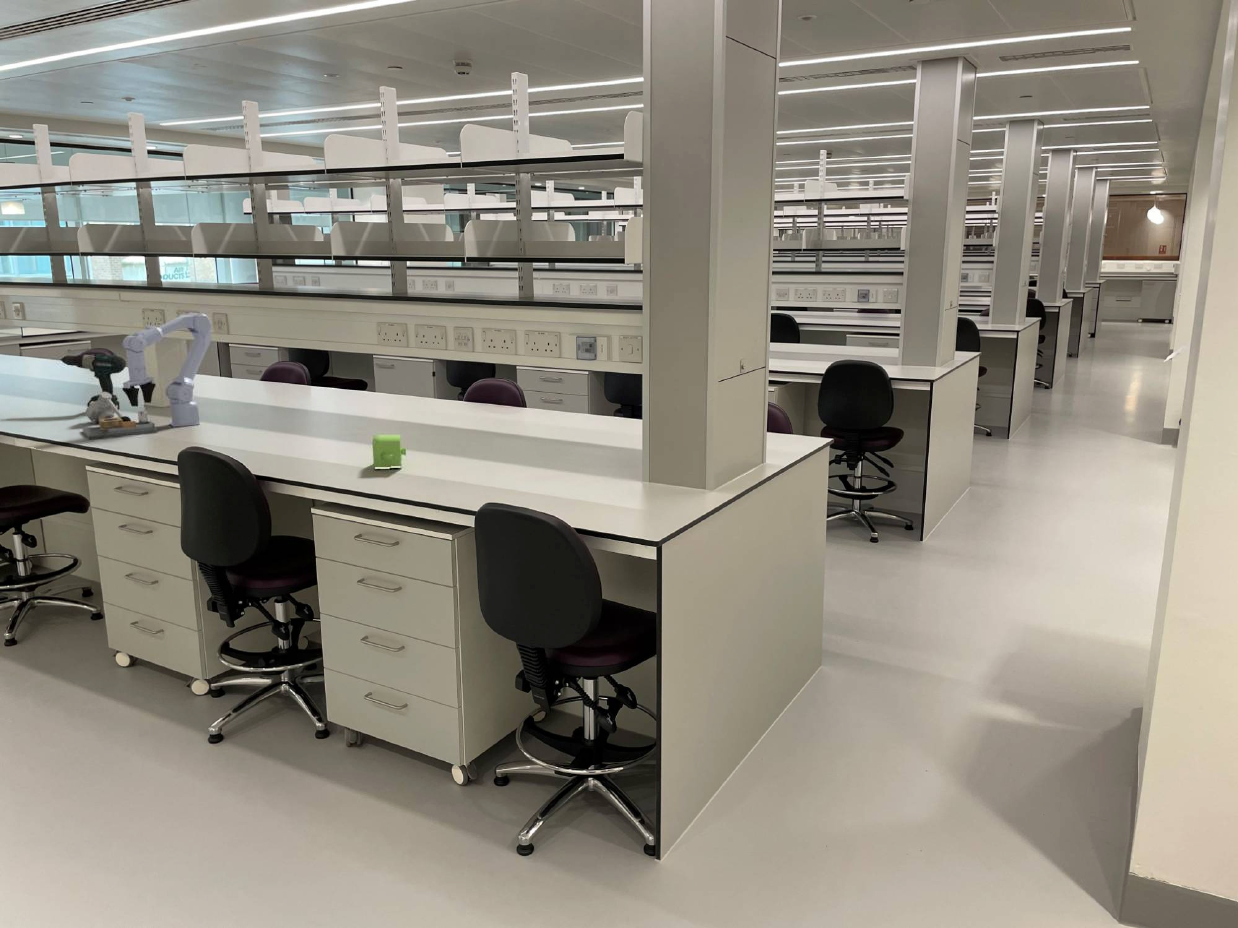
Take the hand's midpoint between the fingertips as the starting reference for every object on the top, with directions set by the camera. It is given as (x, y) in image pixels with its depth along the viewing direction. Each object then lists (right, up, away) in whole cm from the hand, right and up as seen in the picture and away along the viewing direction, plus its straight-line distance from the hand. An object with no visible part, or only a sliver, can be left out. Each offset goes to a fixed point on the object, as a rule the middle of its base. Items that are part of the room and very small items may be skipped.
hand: (141, 404), depth 327 cm
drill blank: (0, -8, +2) cm, 9 cm away
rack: (-12, -9, +1) cm, 15 cm away
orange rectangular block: (-4, -9, -1) cm, 10 cm away
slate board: (-7, -10, -1) cm, 13 cm away
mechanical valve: (-18, -7, +14) cm, 24 cm away
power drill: (-37, -1, +36) cm, 52 cm away
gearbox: (+106, -23, -46) cm, 118 cm away
